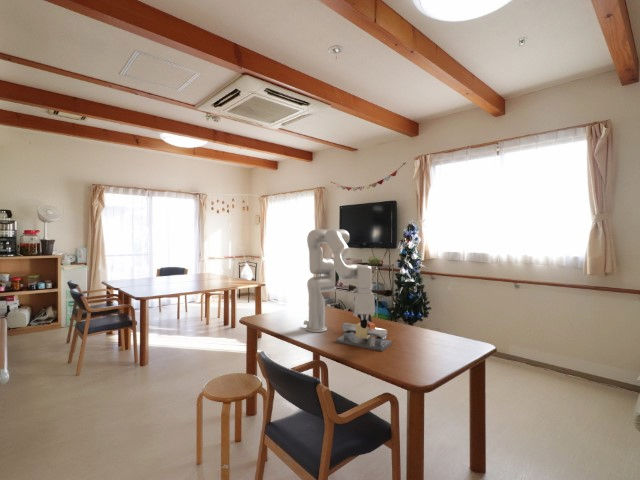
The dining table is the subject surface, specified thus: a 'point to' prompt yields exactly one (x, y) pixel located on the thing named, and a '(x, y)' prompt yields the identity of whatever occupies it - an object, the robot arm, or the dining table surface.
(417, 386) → the dining table surface
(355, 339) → the valve base
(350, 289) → the t-shaped wooden sculpture
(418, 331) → the dining table surface
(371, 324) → the lever
